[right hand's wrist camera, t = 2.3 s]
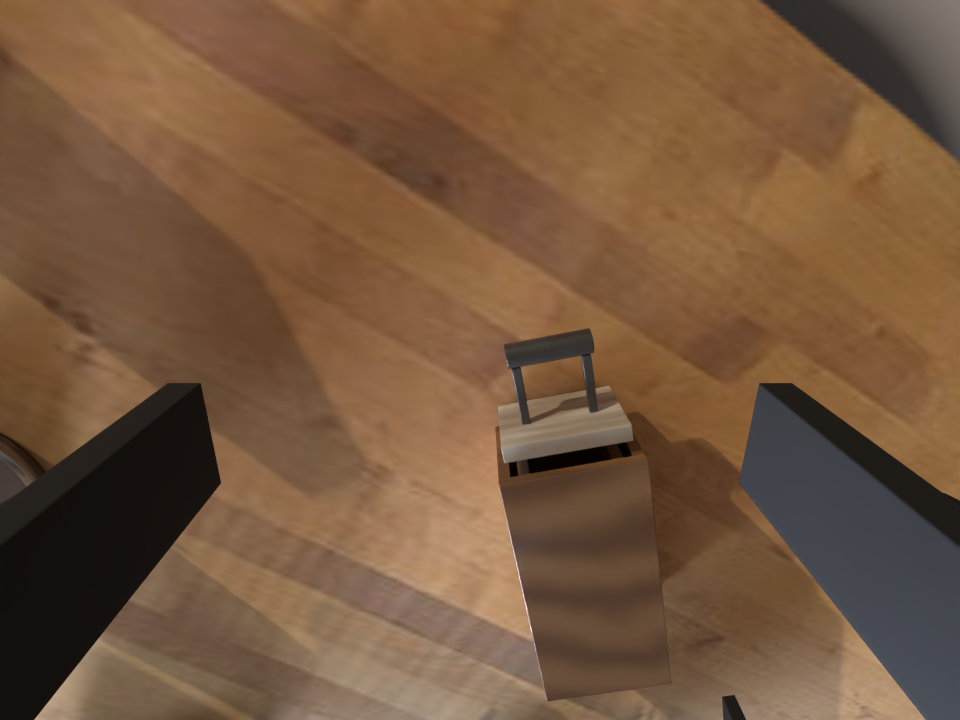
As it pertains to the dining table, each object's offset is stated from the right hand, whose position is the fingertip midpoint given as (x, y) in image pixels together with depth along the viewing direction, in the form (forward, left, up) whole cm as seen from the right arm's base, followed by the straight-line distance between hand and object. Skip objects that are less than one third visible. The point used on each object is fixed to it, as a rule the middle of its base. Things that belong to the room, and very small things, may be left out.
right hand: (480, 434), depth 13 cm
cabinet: (-9, -22, -26) cm, 36 cm away
